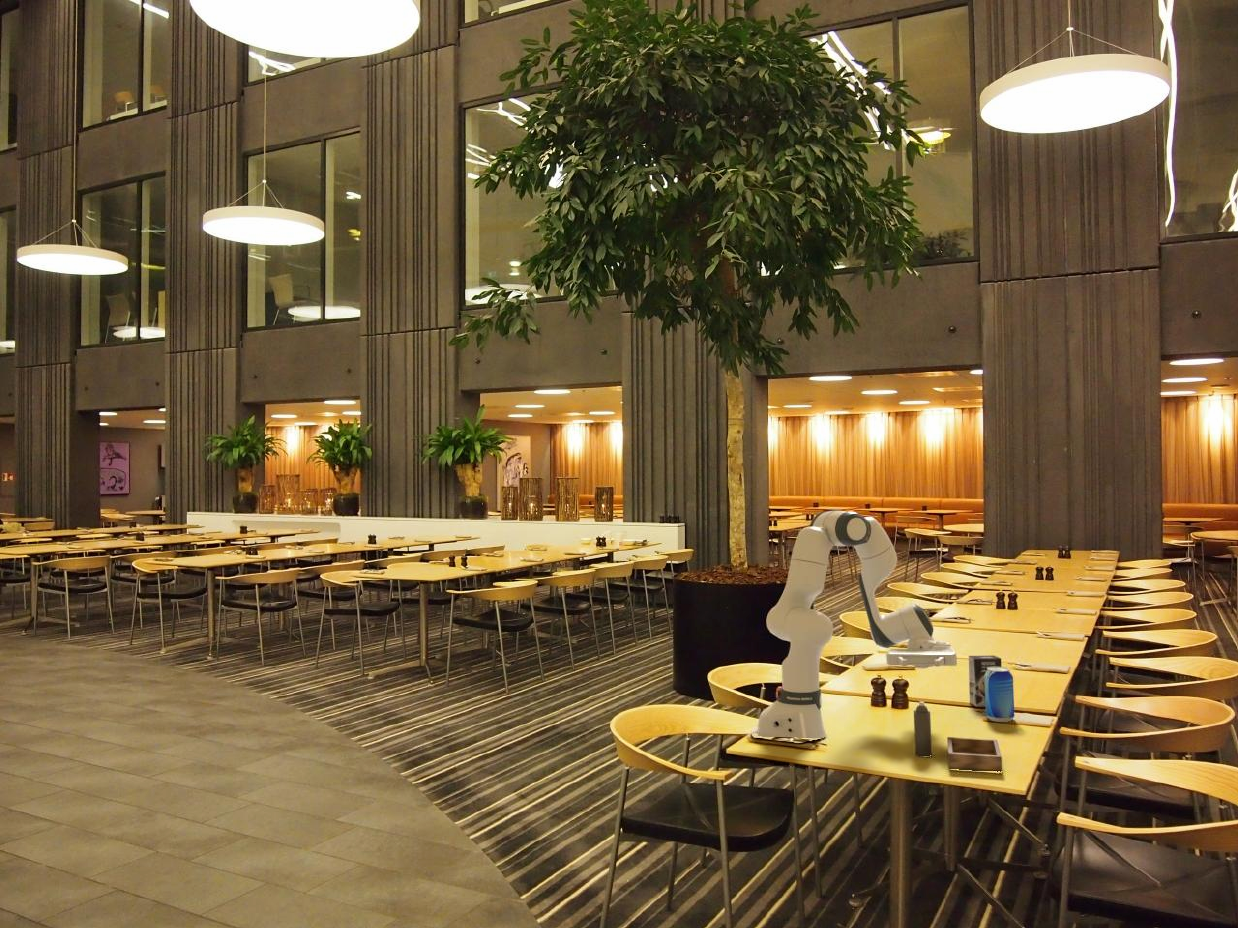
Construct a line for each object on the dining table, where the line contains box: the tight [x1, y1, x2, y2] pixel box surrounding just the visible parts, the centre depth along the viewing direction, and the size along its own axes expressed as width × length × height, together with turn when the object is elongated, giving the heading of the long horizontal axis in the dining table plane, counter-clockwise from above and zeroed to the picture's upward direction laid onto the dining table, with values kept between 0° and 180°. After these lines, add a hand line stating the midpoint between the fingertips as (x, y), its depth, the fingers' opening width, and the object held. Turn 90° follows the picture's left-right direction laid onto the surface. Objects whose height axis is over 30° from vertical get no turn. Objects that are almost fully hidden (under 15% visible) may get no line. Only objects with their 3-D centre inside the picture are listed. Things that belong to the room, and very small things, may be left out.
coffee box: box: [968, 654, 1002, 708], centre depth 312 cm, size 9×6×16 cm
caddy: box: [946, 736, 1003, 772], centre depth 249 cm, size 13×16×4 cm
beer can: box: [984, 666, 1015, 723], centre depth 293 cm, size 8×8×16 cm
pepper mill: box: [913, 701, 933, 757], centre depth 258 cm, size 4×4×15 cm
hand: (920, 663), depth 272 cm, fingers open, 8 cm apart
